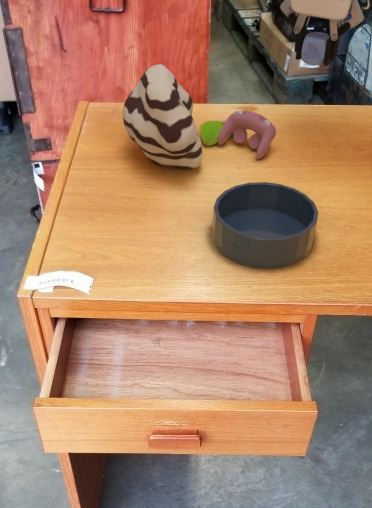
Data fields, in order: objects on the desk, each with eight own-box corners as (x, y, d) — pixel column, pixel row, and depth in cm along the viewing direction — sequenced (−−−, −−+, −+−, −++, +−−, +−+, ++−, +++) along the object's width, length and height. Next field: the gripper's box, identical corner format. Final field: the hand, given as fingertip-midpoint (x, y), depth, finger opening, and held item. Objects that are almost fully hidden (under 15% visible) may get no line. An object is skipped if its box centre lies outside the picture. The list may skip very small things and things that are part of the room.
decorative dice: (322, 67, 101) (326, 41, 98) (299, 63, 103) (303, 38, 100) (328, 58, 104) (332, 33, 101) (306, 55, 105) (309, 30, 102)
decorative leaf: (246, 138, 113) (246, 133, 112) (207, 147, 109) (208, 143, 108) (223, 119, 116) (224, 115, 116) (185, 128, 113) (186, 123, 112)
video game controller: (269, 161, 109) (283, 122, 106) (259, 160, 105) (274, 119, 102) (224, 144, 113) (236, 106, 110) (213, 142, 109) (225, 102, 106)
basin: (327, 228, 93) (333, 200, 89) (287, 281, 84) (292, 252, 80) (240, 200, 98) (243, 172, 94) (194, 247, 89) (195, 218, 85)
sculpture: (210, 185, 101) (215, 95, 89) (138, 194, 99) (133, 102, 87) (180, 125, 115) (181, 41, 104) (117, 132, 113) (110, 46, 102)
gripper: (395, -69, 89) (368, 62, 102) (292, -81, 95) (279, 44, 108) (378, -58, 84) (352, 77, 98) (271, -71, 90) (261, 58, 104)
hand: (314, 58), depth 103 cm, fingers closed on decorative dice, 4 cm apart
